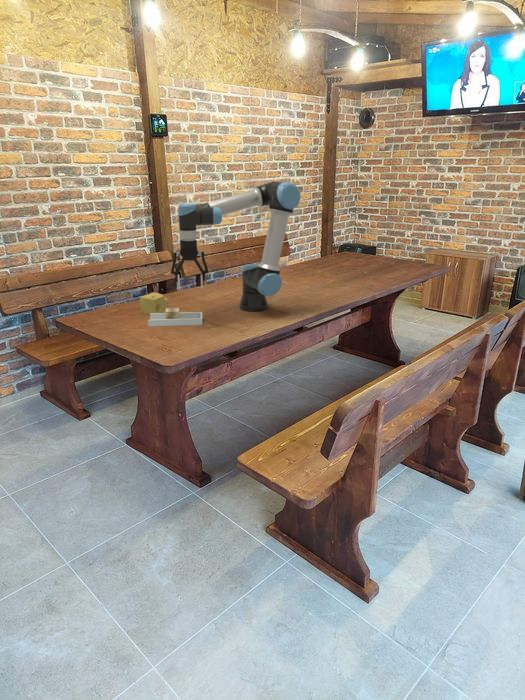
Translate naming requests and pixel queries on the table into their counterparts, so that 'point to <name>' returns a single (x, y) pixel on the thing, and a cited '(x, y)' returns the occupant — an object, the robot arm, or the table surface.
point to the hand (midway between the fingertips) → (190, 288)
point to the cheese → (153, 303)
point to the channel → (185, 319)
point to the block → (172, 313)
